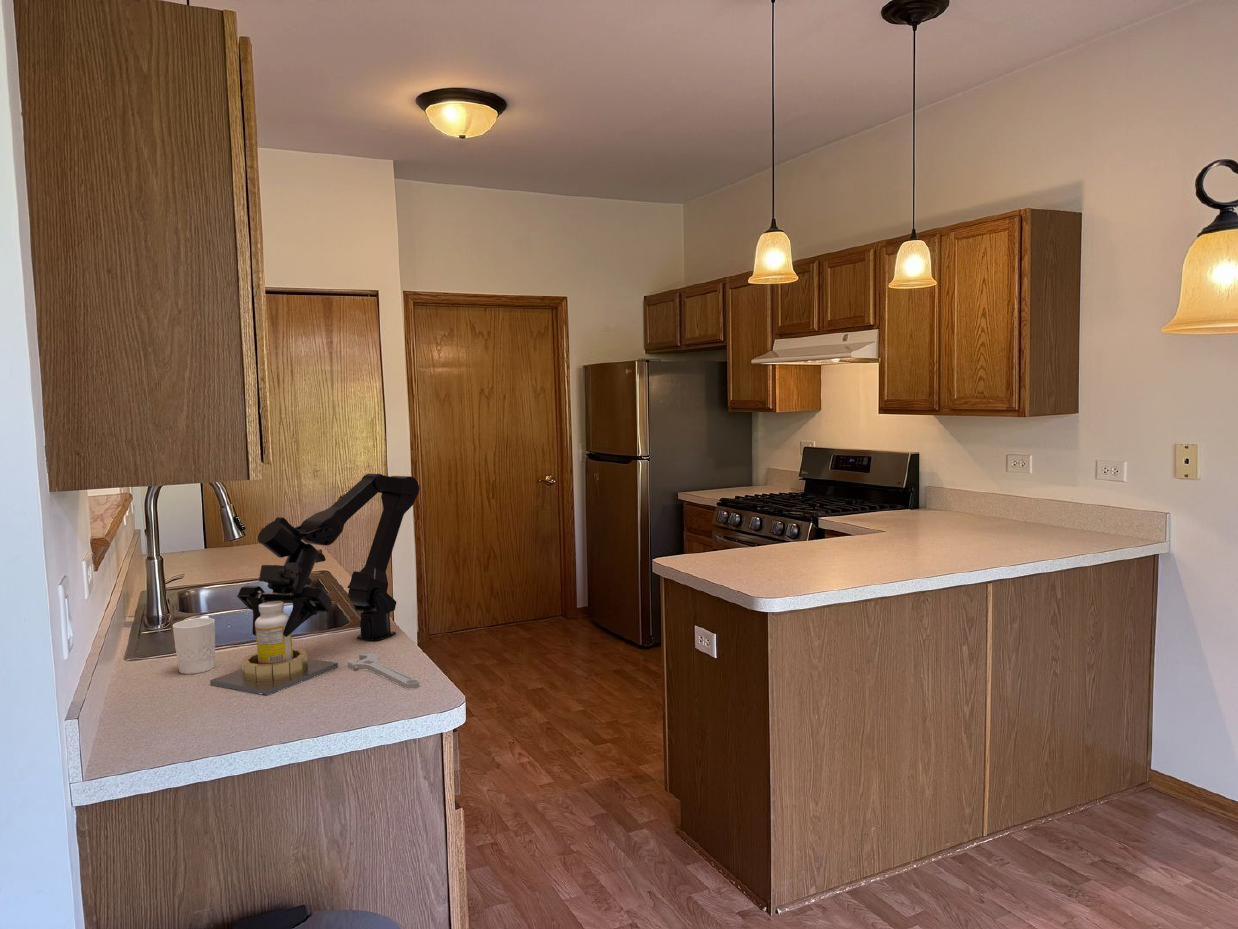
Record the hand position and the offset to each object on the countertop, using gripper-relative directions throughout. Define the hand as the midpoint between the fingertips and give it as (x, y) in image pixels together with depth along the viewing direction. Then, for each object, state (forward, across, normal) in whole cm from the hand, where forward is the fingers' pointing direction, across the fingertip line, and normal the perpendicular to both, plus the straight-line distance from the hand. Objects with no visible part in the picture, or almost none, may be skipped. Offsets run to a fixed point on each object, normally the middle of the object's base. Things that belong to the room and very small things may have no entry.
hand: (269, 635), depth 172 cm
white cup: (+4, -20, +9) cm, 22 cm away
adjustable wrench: (+4, +21, +10) cm, 24 cm away
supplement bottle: (+4, 0, +6) cm, 7 cm away
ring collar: (+5, 0, +7) cm, 9 cm away
